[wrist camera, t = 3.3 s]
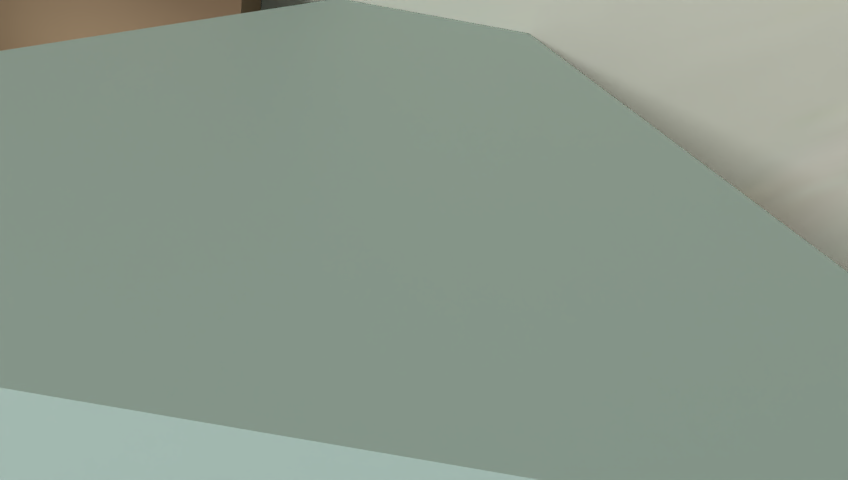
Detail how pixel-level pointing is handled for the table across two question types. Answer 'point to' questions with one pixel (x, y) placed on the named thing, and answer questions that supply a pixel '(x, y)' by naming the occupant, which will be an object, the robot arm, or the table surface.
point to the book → (388, 268)
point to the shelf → (101, 17)
